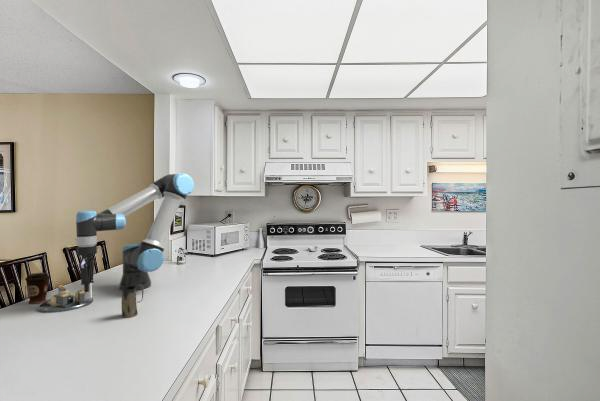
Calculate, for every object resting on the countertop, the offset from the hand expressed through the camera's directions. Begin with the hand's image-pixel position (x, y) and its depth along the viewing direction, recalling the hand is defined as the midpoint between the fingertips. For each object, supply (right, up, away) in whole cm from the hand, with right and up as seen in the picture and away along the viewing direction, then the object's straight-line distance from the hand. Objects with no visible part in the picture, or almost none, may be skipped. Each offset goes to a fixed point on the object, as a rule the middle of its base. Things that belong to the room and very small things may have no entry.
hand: (87, 298), depth 145 cm
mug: (+27, -3, -14) cm, 30 cm away
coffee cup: (-26, -3, +4) cm, 27 cm away
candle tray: (-10, -3, 0) cm, 10 cm away
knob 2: (-9, -2, -5) cm, 10 cm away
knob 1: (-15, -2, +5) cm, 16 cm away
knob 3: (-3, -2, 0) cm, 4 cm away
